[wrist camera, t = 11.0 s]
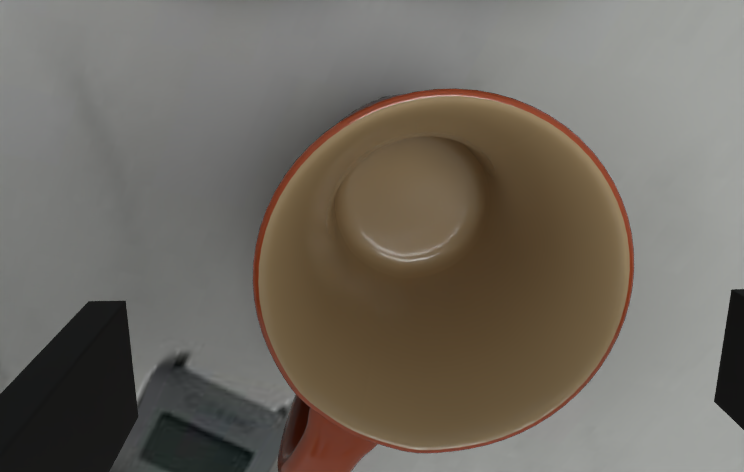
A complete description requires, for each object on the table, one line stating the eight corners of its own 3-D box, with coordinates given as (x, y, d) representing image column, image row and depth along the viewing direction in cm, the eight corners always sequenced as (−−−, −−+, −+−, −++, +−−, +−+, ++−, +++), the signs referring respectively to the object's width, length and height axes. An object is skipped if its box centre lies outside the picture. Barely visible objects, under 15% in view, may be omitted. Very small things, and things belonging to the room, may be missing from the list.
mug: (362, 24, 24) (373, 8, 14) (568, 146, 25) (712, 213, 15) (210, 306, 26) (127, 463, 16) (404, 402, 28) (436, 601, 18)
